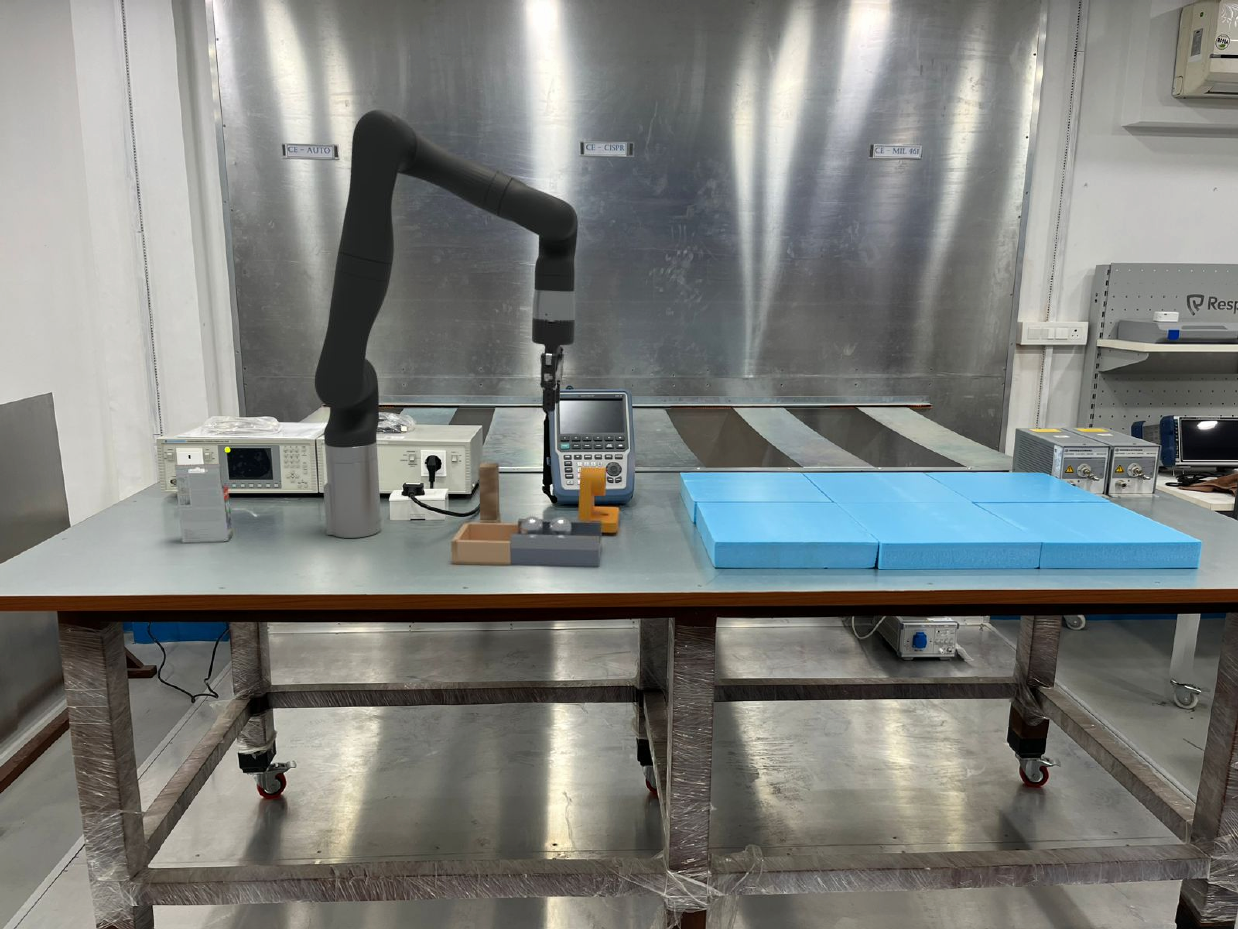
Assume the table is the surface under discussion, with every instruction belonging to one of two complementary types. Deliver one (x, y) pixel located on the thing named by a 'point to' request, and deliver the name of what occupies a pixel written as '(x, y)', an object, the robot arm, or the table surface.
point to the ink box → (203, 504)
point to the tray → (483, 543)
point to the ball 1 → (531, 526)
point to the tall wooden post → (489, 493)
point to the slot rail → (559, 545)
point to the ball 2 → (560, 526)
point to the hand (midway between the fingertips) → (551, 406)
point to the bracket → (590, 486)
